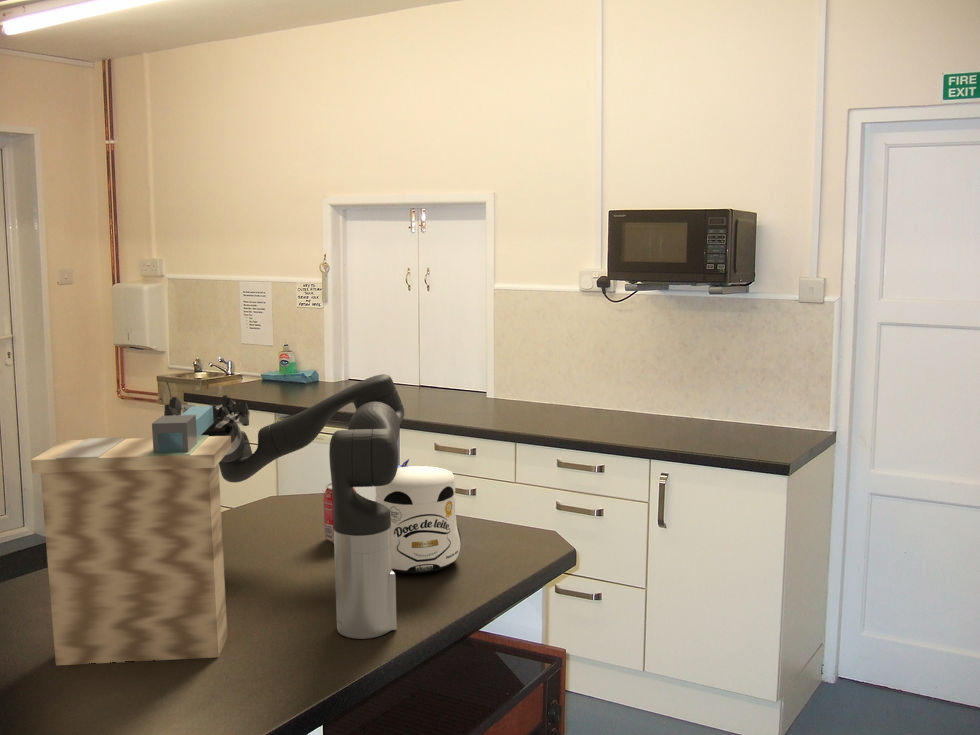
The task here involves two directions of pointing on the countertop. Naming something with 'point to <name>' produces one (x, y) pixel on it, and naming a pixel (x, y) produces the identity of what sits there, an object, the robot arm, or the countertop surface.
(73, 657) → the wavy striped plinth
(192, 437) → the two-tone rectangular bar
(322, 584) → the countertop surface
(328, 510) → the soda can
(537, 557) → the countertop surface
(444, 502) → the doce de leite tub
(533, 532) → the countertop surface
